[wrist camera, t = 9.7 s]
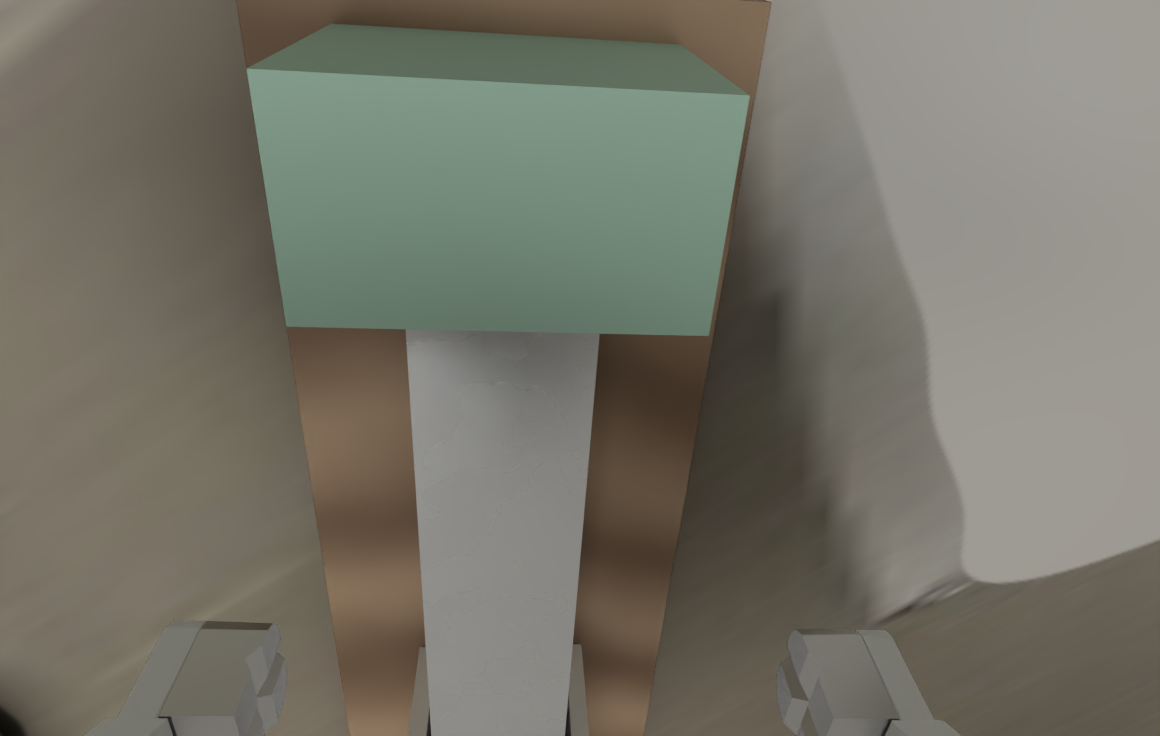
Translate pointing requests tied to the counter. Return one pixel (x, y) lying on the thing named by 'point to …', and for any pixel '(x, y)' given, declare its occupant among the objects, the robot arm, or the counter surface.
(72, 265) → the counter surface
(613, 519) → the baseboard
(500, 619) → the rectangular peg
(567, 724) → the sleeve
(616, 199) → the socket
